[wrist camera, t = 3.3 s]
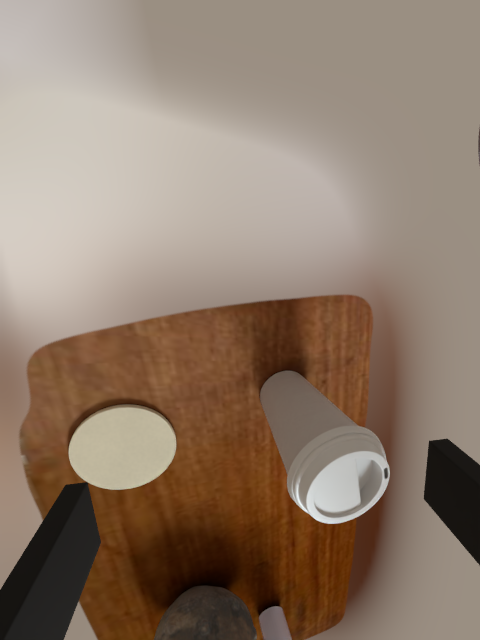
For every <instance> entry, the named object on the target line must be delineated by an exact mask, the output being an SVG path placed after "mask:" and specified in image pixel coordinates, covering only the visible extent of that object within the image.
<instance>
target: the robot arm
mask: <svg viewBox="0 0 480 640" xmlns="http://www.w3.org/2000/svg"><path fill="white" fill-rule="evenodd" d="M428 448H429V449H428V458H427V469H426V481H425V491H424V500H425V501H426V502H427V503H428V504H429V506H430V507H431V508H432V509H433V510H434V511H435V512H436V514H437V515H438V516H439V517H440V519H441V520H442V521H443V522H444V523H445V524H446V526H447V527H448V528H449V529H450V530H451V532H452V533H453V534H454V535H455V536H456V538H457V539H458V540H459V541H460V542H461V544H462V545H463V546H464V547H465V548H466V549H467V551H468V552H469V553H470V554H471V555H472V557H473V558H474V559H475V560H476V561H477V563H479V565H480V465H479V464H478V463H477V462H475V461H474V460H473V459H472V458H471V457H469V456H468V455H467V454H466V453H464V452H463V451H462V450H461V449H459V448H458V447H457V446H456V445H454V444H453V443H452V442H451V441H450V440H448V439H442V440H433V441H429V447H428ZM100 543H101V541H100V536H99V532H98V527H97V523H96V519H95V514H94V510H93V505H92V501H91V496H90V492H89V488H88V483H87V482H86V483H78V484H69V485H65V487H64V488H63V490H62V492H61V493H60V495H59V496H58V498H57V500H56V501H55V503H54V504H53V506H52V508H51V509H50V511H49V512H48V514H47V516H46V517H45V519H44V520H43V522H42V524H41V525H40V527H39V529H38V530H37V532H36V533H35V535H34V537H33V538H32V540H31V541H30V543H29V545H28V546H27V548H26V549H25V551H24V553H23V554H22V556H21V558H20V559H19V561H18V562H17V564H16V565H15V567H14V569H13V570H12V572H11V573H10V575H9V577H8V578H7V580H6V582H5V583H4V585H3V586H2V588H1V590H0V640H64V637H65V635H66V632H67V630H68V627H69V624H70V621H71V619H72V616H73V614H74V611H75V608H76V606H77V603H78V601H79V598H80V595H81V593H82V590H83V588H84V585H85V582H86V580H87V577H88V575H89V572H90V569H91V567H92V564H93V561H94V559H95V556H96V554H97V551H98V548H99V546H100Z"/></svg>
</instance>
